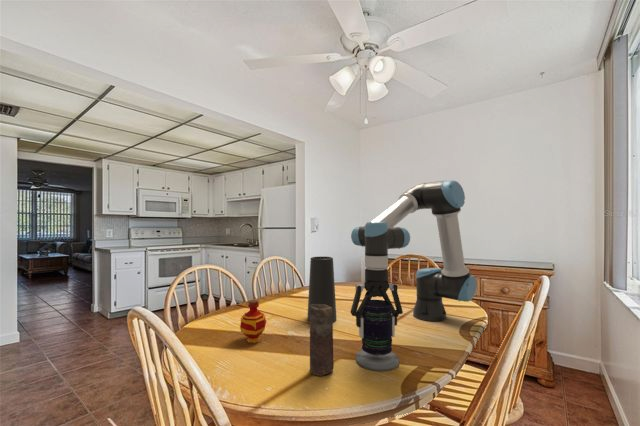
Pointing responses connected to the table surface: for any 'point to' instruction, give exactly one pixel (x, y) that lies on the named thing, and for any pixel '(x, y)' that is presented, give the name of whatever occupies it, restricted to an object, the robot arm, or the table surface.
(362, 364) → the disc
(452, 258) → the robot arm
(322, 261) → the vase
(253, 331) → the potion bottle
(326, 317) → the candle
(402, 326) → the table surface
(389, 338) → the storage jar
